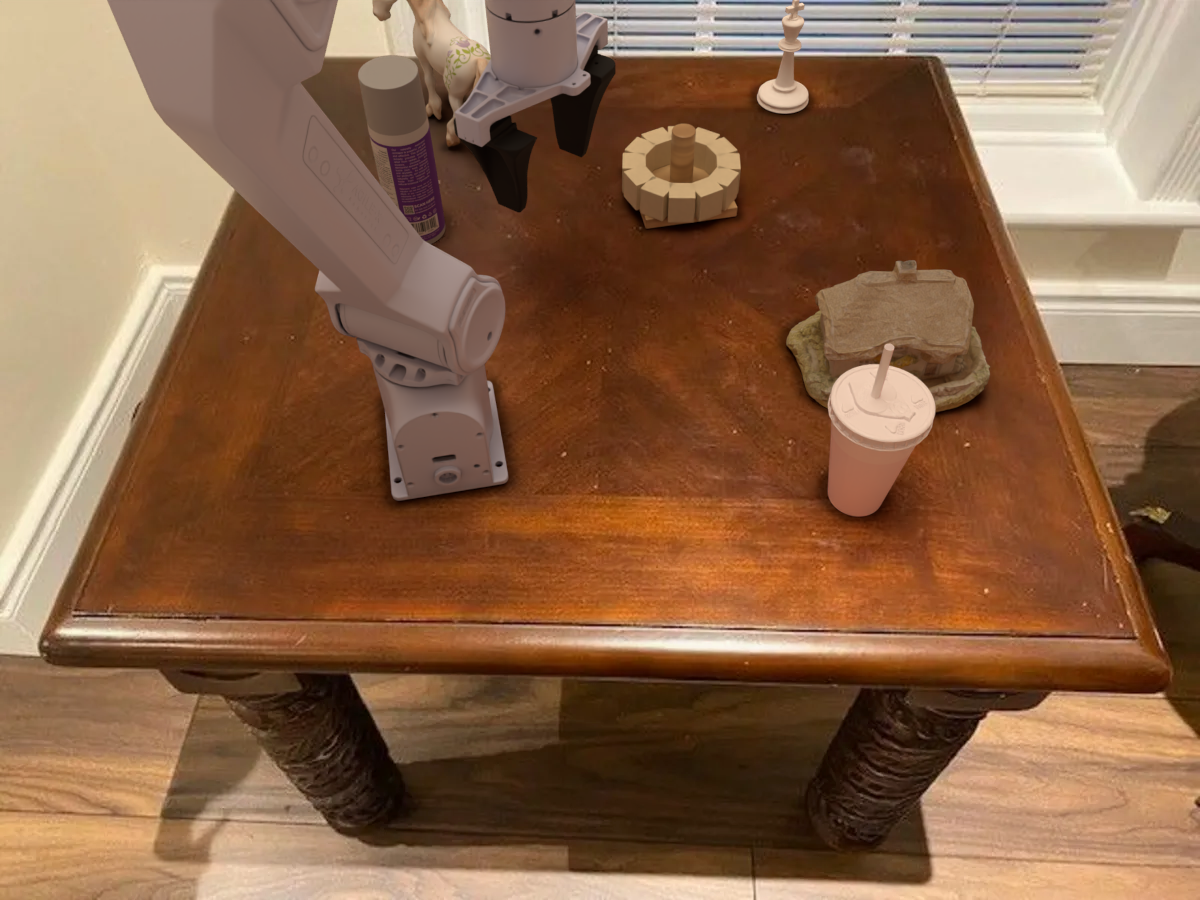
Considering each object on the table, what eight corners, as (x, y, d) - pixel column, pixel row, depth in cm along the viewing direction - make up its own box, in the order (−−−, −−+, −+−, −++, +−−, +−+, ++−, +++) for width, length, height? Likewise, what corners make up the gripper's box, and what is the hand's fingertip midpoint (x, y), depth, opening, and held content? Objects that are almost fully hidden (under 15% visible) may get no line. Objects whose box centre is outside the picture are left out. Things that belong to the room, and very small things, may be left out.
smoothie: (839, 442, 73) (877, 297, 62) (920, 488, 71) (975, 344, 60) (789, 500, 70) (820, 358, 59) (872, 550, 68) (920, 411, 57)
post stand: (736, 216, 89) (743, 152, 84) (645, 229, 88) (647, 165, 83) (712, 161, 94) (718, 97, 88) (626, 172, 93) (626, 108, 88)
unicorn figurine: (409, 67, 104) (384, -67, 93) (549, 142, 96) (540, 4, 85) (353, 99, 101) (322, -37, 90) (494, 179, 92) (477, 41, 82)
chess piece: (747, 92, 100) (757, -8, 92) (791, 79, 101) (805, -20, 94) (773, 119, 97) (786, 18, 90) (818, 105, 99) (835, 5, 91)
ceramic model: (794, 421, 74) (814, 321, 67) (781, 311, 81) (798, 210, 74) (991, 423, 74) (1035, 323, 66) (962, 313, 81) (998, 211, 73)
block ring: (754, 212, 87) (757, 187, 85) (637, 232, 86) (638, 207, 84) (718, 142, 94) (720, 117, 92) (609, 159, 92) (609, 134, 90)
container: (452, 214, 89) (427, 57, 78) (437, 250, 87) (409, 93, 75) (400, 208, 90) (367, 51, 78) (383, 244, 87) (347, 86, 75)
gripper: (511, 72, 60) (527, 252, 71) (645, -33, 67) (642, 145, 78) (418, 37, 62) (447, 216, 73) (557, -60, 70) (566, 115, 80)
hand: (543, 177), depth 76 cm, fingers open, 7 cm apart
